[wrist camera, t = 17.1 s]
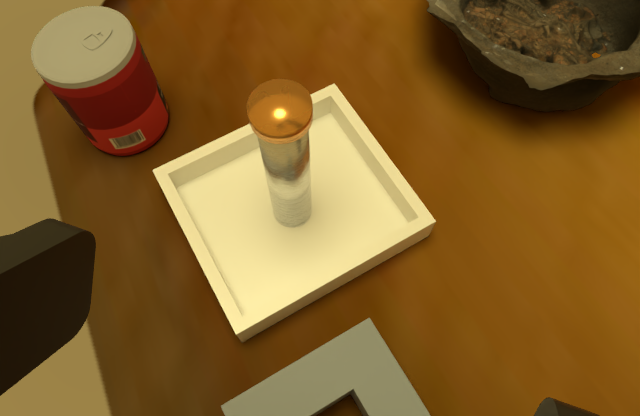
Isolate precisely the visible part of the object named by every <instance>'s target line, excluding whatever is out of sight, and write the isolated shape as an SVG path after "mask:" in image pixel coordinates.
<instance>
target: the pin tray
mask: <svg viewBox="0 0 640 416" xmlns="http://www.w3.org/2000/svg"><path fill="white" fill-rule="evenodd" d="M310 96H311V98H312V104H313V121H312V124H311V127H310V129H309V148H310V171H311V194H312V214H311V217H310V218H309V220H308V221H307V222H306V223H305V224H303V225H301V226H299V227H293V228H291V227H286V226H283V225H281V224H280V223H279V222H278V221H277V220H276V219H275V217H274V213H273V209H272V204H271V199H270V194H269V189H268V185H267V180H266V175H265V170H264V166H263V161H262V156H261V151H260V146H259V142H258V137H257V135H256V134H255V133H254V132H253V130H252V128H251V126H250V124H248V125H246V126H244V127H242V128H240V129H238V130H236V131H233V132H231V133H229V134H227V135H225V136H223V137H221V138H219V139H217V140H215V141H212V142H210V143H208V144H206V145H204V146H202V147H200V148H198V149H196V150H194V151H191V152H189V153H187V154H185V155H183V156H181V157H179V158H177V159H175V160H173V161H170V162H168V163H166V164H164V165H162V166H160V167H158V168H156V169H154V170H152V171H153V172H154V174H155V176H156V178H157V180H158V182H159V184H160V186H161V188H162V190H163V192H164V194H165V196H166V198H167V200H168V202H169V204H170V206H171V208H172V210H173V212H174V214H175V216H176V218H177V220H178V222H179V224H180V226H181V228H182V230H183V231H184V233H185V235H186V237H187V239H188V241H189V243H190V245H191V247H192V249H193V251H194V253H195V255H196V257H197V259H198V261H199V263H200V265H201V267H202V269H203V271H204V273H205V275H206V277H207V279H208V281H209V283H210V285H211V287H212V288H213V290H214V292H215V294H216V296H217V298H218V300H219V302H220V304H221V306H222V308H223V310H224V312H225V314H226V316H227V318H228V320H229V322H230V324H231V326H232V328H233V330H234V332H235V334H236V335H237V337H238V338H239V339H240V341H241V342H244V341H246V340H248V339H249V338H251V337H253V336H255V335H256V334H258V333H260V332H262V331H263V330H265V329H267V328H269V327H270V326H272V325H274V324H276V323H277V322H279V321H281V320H283V319H284V318H286V317H288V316H290V315H291V314H293V313H295V312H297V311H298V310H300V309H302V308H304V307H305V306H307V305H309V304H311V303H312V302H314V301H316V300H318V299H319V298H321V297H323V296H325V295H326V294H328V293H330V292H332V291H333V290H335V289H337V288H339V287H340V286H342V285H344V284H346V283H347V282H349V281H351V280H353V279H354V278H356V277H358V276H360V275H361V274H363V273H365V272H367V271H368V270H370V269H372V268H374V267H375V266H377V265H379V264H381V263H382V262H384V261H386V260H388V259H389V258H391V257H393V256H395V255H396V254H398V253H400V252H402V251H403V250H405V249H407V248H409V247H410V246H412V245H414V244H416V243H417V242H419V241H421V240H423V239H424V238H426V237H428V236H429V234H430V232H431V230H432V228H433V226H434V224H435V222H436V221H435V219H434V218H433V217H432V215H431V214H430V212H429V211H428V210H427V208H426V207H425V206H424V204H423V203H422V202H421V200H420V199H419V198H418V196H417V195H416V193H415V192H414V191H413V189H412V188H411V187H410V185H409V184H408V183H407V181H406V180H405V179H404V177H403V176H402V174H401V173H400V172H399V170H398V169H397V168H396V166H395V165H394V164H393V162H392V161H391V160H390V158H389V157H388V155H387V154H386V153H385V151H384V150H383V149H382V147H381V146H380V145H379V143H378V142H377V141H376V139H375V138H374V136H373V135H372V134H371V132H370V131H369V130H368V128H367V127H366V126H365V124H364V123H363V122H362V120H361V119H360V117H359V116H358V115H357V113H356V112H355V111H354V109H353V108H352V107H351V105H350V104H349V103H348V101H347V100H346V98H345V97H344V96H343V94H342V93H341V92H340V90H339V89H338V88H337V86H336V85H335V84H332V85H330V86H328V87H326V88H324V89H322V90H320V91H317V92H315V93H313V94H311V95H310Z"/></svg>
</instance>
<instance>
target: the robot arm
mask: <svg viewBox="0 0 640 416" xmlns="http://www.w3.org/2000/svg"><path fill="white" fill-rule="evenodd" d="M95 248H96V242H95V238H94V236H93V234H92V233H91V232H89V231H86V230H83V229H80V228H78V227H75V226H72V225H69V224H66V223H64V222H61V221H58V220H55V219H46V220H43V221H40V222H38V223H36V224H34V225H32V226H29V227H27V228H25V229H23V230H20V231H18V232H16V233H14V234H10V235H5V236H1V237H0V396H1V395H2V394H3V393H4V392H6V391H7V390H8V389H9V388H11V387H12V386H13V385H14V384H16V383H17V382H18V381H19V380H21V379H22V378H23V377H24V376H26V375H27V374H28V373H30V372H31V371H32V370H33V369H35V368H36V367H37V366H39V365H40V364H41V363H42V362H43V361H45V360H46V359H47V358H49V357H50V356H51V355H52V354H54V353H55V352H56V351H57V350H58V349H60V348H61V347H63V346H64V345H65V344H66V343H68V342H69V341H70V340H71V339H72V338H73V337H74V336H75V335H76V334H77V333H78V332H79V330H80V329H81V327H82V326H83V324H84V322H85V321H86V318H87V316H88V313H89V310H90V304H91V293H92V282H93V271H94V260H95ZM534 416H599V415H598V414H595V413H592V412H589V411H586V410H584V409H581V408H578V407H575V406H572V405H570V404H567V403H564V402H561V401H558V400H556V399H553V398H546V399H544V400H543V401H542V403H541V404H540V405H539V407H538V409H537V411H536V413H535V415H534Z"/></svg>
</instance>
